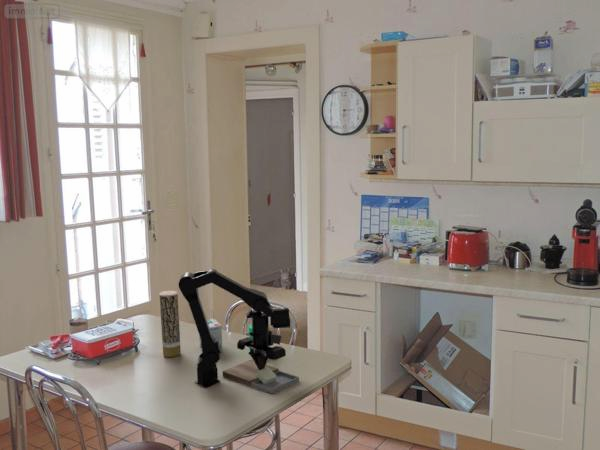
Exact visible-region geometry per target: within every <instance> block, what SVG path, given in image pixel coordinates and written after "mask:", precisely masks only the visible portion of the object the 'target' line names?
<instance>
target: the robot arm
mask: <svg viewBox="0 0 600 450" xmlns="http://www.w3.org/2000/svg"><path fill="white" fill-rule="evenodd" d="M209 284H212V285H213V284H214V285H215V286H217V287H219V288H220V289H222V290H224V291H226V292H228V293H230V294H232V295H233V296H236V297H237V298H239V299H240V300H242V301H243V302H244V303H245V304H246V305H247V306H248V307H250V309H249V311H248V312H247V313H246V318H247V319H251V325H252V332H250V335H251V336H252V338H249V336H247V337H245V338H242V339H239V340H238V341H237V342H236V343H237V344H236V347H237V349H238V350H240V351H241V350H242V351H243V350H245V349H246V347H248V349H249V348H250V350H249V351H248V355H249V356H250V357H251V360H254V362H255V364H256V366H257V367H258V369H259V370H262V369H264V368H265V365H267V363H268V360H271V361H276V360H279V359H282V358H283V357H286V356H287V354H286V353H287V352H286V349H285V348H284V347H281V346H278V345H280V344H281V341H282V335H280V334H277V333H273V332H272V331H271V330H270V327H269V323H270V326H272V328H273V329H289V328H291V318H290V308H289V307H284V308H274V307H273V305H271V303H270V302H269V299H268V297H267V294H266V293H265V292H264V291H261V290H257V289H255V288H254V289H253V288H249V287H247V286H245V285H243V284H241V283H239V282H237V281H236V280H233V279H232V278H230V277H228V276H227V275H224V274H222V273H221V272H219V271H218V270H217V269H214V268H212V269H211V268H210V269H207V270H204V271H203V270H202V271H196V272H189V271H188V272H187V271H186V272H185V273H183V274H182V275H181V276H180V278H179V280H178V289H179V290H180V293H182V294H181V295H182V296H183V297H184V299H185V300H186V301H187V303H188V306H189V309H190V311H191V314H192V318H193V320H194V324H195V326H196V329H197V331H198V335H200V337H199V339H200V338H201V344H202V348H201V353H200V355H198V358H197V365H196V377H197V379H196V380H195V381H194V384H197V385H199V386H201V387H204V388H209V387H211V386H214V385H216V384H218V383H220V382H221V380H220V379H219V377H218V376H219V373H218V372H219V371H218V367H217V363H218V362H219V361H220V359H221V353H222V352H221V348H222V349H223V345H222V346H221V345H220V343H219V338H218V336H217V337H215V338H214V336H213V335H212V334H211V331H210V328H209V325H208V322H207V320H208V319H207V316H206V314H205V311H204V308H203V305H202V302H201V298H200V294H199V293H200V291H199V289H200V288H202V287H204V286H206V285H209ZM269 319H270V320H269ZM274 344H275V346H274ZM276 344H277V345H276ZM272 346H273V347H272Z"/></svg>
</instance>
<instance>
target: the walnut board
mask: <svg viewBox="0 0 600 450" xmlns="http://www.w3.org/2000/svg"><path fill="white" fill-rule="evenodd" d="M267 367H269V368H270V370H271V371H272V372H273V373H274V372H276V371H278V370H279V368H278V367H274V366H271V365H268V364H266V365H265V368H267ZM257 371H259V369H258V367H257V366H256V364H255V362H254V360H253V359H249V360H246V361H245V362H244V361H243V362H241V363H239V364H237V365H234V366H232V367H229V368H227V369H225V370H222V377H224V378H225V379H229V380H232V381H234V382H237V383H239V384H243V385H245V386H247V387H251V382H253V381H255V380H258V379H259V378H258V377H257V376H256V374H257Z"/></svg>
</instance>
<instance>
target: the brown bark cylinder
mask: <svg viewBox="0 0 600 450" xmlns="http://www.w3.org/2000/svg"><path fill="white" fill-rule="evenodd" d="M178 293H179V292H178V291H177V290H164V291H160V292H159V307H160V323H161V324H160V326H161V340H162V341H161V344H162V355H163V356H164V357H165V358H174V357H178V356H180V355H181V351H182V350H181V348H182V347H181V334H180V333H181V331H180V330H181V329H180V314H179V296H178V295H179V294H178Z"/></svg>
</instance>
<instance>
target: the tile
mask: <svg viewBox="0 0 600 450" xmlns="http://www.w3.org/2000/svg"><path fill="white" fill-rule="evenodd" d="M256 376H257V377H258V378H259V379H260V380H261V381H262V382H263V383H264V384H265V385H266V384H268V383H271V382H273V381H275V380H276V378H277V376H276V375H275V374H274V373H273V372H272V371H271V370H270V368H269V367H267V368H264V369H262V370H259V371H257V374H256Z"/></svg>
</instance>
